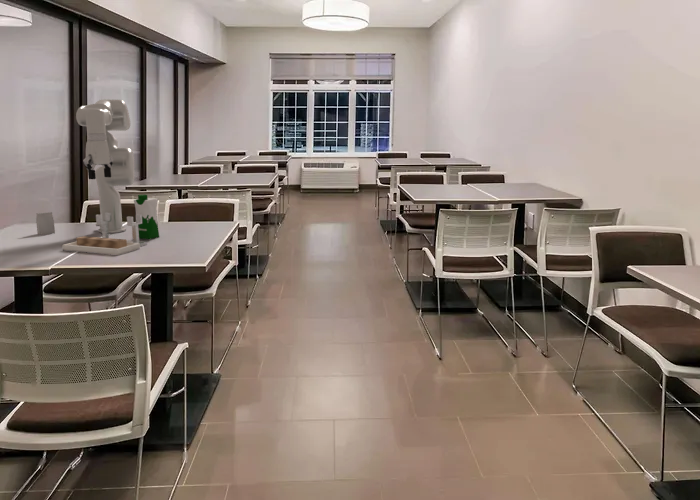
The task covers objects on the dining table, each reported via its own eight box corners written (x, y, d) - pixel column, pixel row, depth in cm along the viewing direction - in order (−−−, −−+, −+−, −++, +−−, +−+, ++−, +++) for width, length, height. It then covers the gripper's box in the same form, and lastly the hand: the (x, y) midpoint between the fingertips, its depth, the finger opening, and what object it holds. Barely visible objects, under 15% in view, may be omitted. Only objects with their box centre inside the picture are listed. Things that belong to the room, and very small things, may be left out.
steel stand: (94, 244, 263) (92, 214, 260) (105, 241, 269) (103, 212, 267) (137, 247, 256) (134, 217, 253) (147, 244, 263) (145, 214, 260)
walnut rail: (77, 247, 253) (76, 237, 252) (84, 245, 257) (83, 236, 256) (120, 250, 246) (119, 241, 246) (127, 249, 250) (126, 239, 249)
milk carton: (134, 238, 276) (131, 195, 272) (146, 235, 284) (144, 193, 280) (150, 239, 273) (147, 195, 269) (162, 236, 281) (159, 193, 277)
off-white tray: (63, 250, 249) (62, 244, 249) (86, 244, 262) (86, 239, 262) (118, 255, 241) (117, 249, 240) (140, 248, 254) (139, 243, 253)
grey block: (55, 233, 289) (53, 212, 287) (39, 235, 284) (37, 214, 282) (52, 232, 291) (50, 211, 289) (37, 233, 287) (35, 213, 285)
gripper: (103, 137, 268) (106, 176, 271) (75, 138, 251) (78, 179, 255) (117, 137, 265) (120, 176, 269) (89, 138, 249) (93, 180, 253)
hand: (100, 178), depth 262 cm, fingers open, 9 cm apart
